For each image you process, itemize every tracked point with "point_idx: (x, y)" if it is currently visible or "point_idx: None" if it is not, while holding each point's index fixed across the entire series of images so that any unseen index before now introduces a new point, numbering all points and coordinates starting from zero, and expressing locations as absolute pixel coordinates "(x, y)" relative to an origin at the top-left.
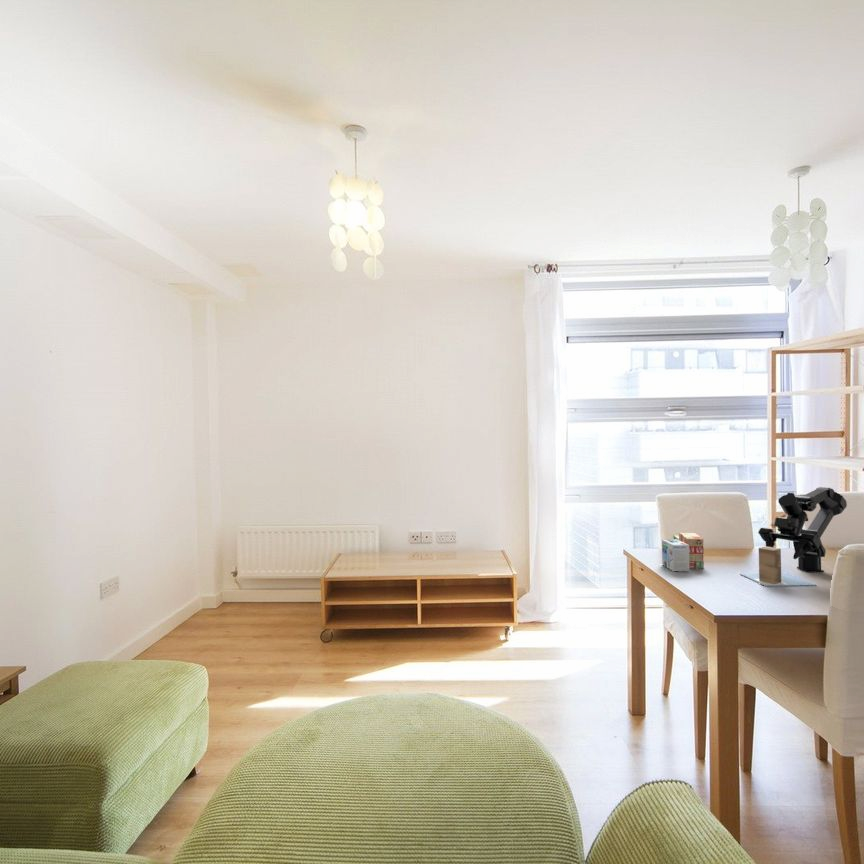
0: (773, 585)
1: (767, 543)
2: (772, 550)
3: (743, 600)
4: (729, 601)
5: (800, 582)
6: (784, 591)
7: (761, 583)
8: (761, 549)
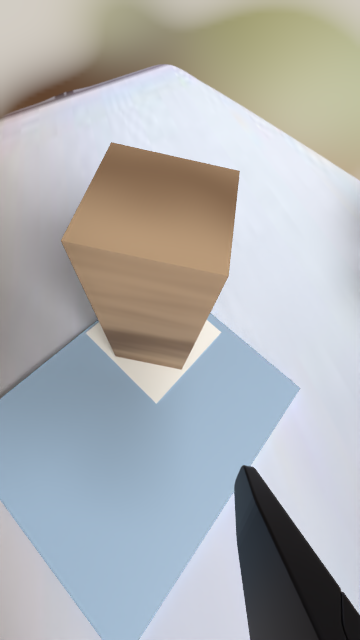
0: None
1: (337, 620)
2: (120, 145)
3: (163, 133)
4: (184, 118)
5: (34, 423)
6: None
7: None
8: (212, 173)
